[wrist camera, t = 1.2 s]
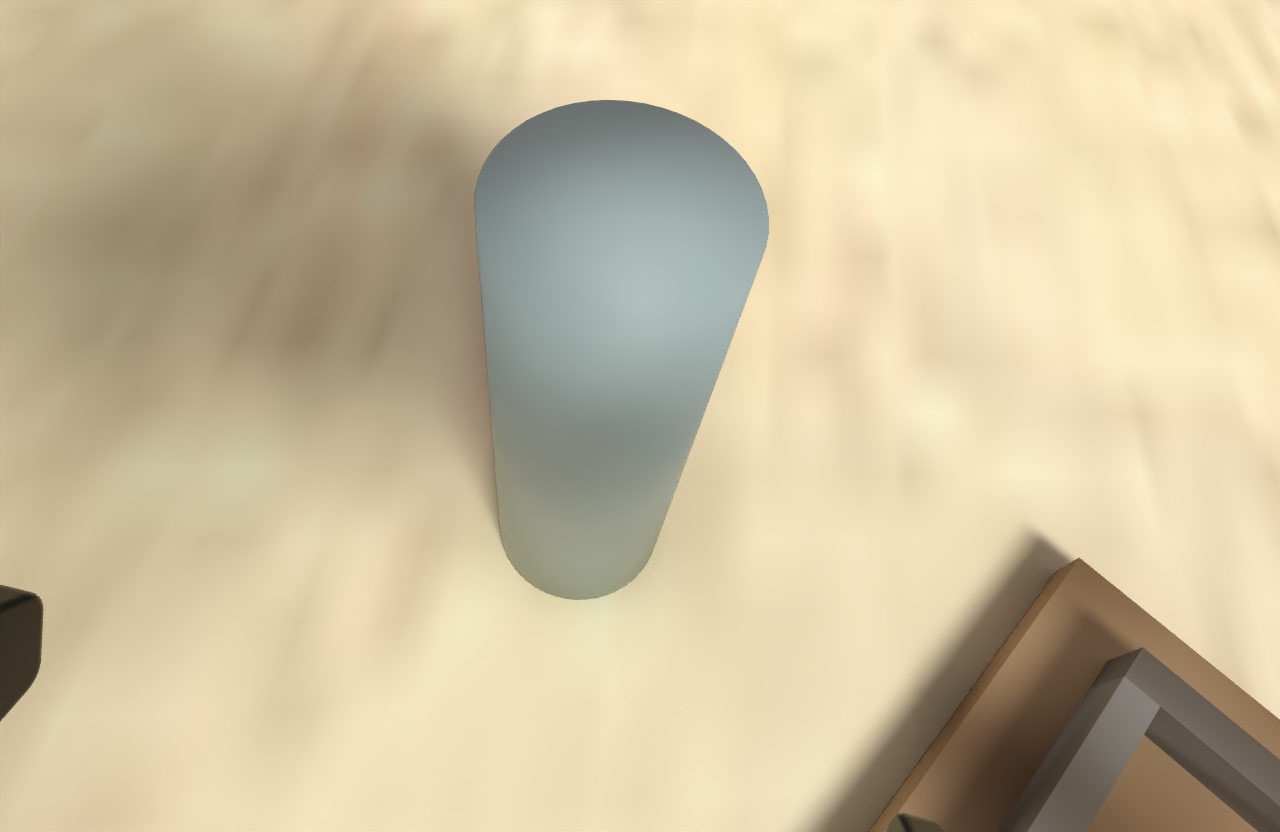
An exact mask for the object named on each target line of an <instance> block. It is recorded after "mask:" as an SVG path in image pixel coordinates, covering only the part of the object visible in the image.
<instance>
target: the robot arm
mask: <svg viewBox="0 0 1280 832" xmlns="http://www.w3.org/2000/svg"><path fill="white" fill-rule="evenodd" d="M42 628H43V603H42V601H41V599H40V597H39V596H37V595H36V594H35V593H32V592H28V591H24V590H20V589H16V588H12V587H8V586H4V585H0V721H1V720H2V719H3V718H4V717H5V716H6V714H7V713H8V712H9V711H10V710H11V709H12V708H13V706H14V705H15V704H16V703H17V702H18V701H19V700H20V698H21V697H22V696H23V695H24V694H25V693H26V692H27V690H28V689H29V688H30V686H31V685H32V683H33V682H34V680H35V678H36V676H37V674H38V671H39V668H40V663H41V649H42ZM886 832H947V831H946V830H945V829H944V828H943V827H942V826H941V825H940V824H939V823H938V822H936V821H934V820H932V819H928V818H924V817H920V816H916V815H912V814H908V813H904V812H900V813H897V814H895V815H894V816H893V817H892V819H891V820H890V822H889V824H888V827H887V829H886Z"/></svg>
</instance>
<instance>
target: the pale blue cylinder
mask: <svg viewBox="0 0 1280 832" xmlns="http://www.w3.org/2000/svg"><path fill="white" fill-rule="evenodd" d="M474 210H475V223H476V236H477V248H478V261H479V273H480V286H481V298H482V311H483V323H484V336H485V348H486V361H487V373H488V386H489V398H490V411H491V423H492V436H493V448H494V461H495V473H496V486H497V499H498V511H499V524H500V533H501V540H502V544H503V547H504V550H505V552H506V555H507V557H508V559H509V560H510V562H511V564H512V565H513V567H514V568H515V569H516V570H517V572H518V573H519V574H520V575H521V576H522V577H523V578H524V579H525V580H526V581H528V582H529V583H530V584H532V585H533V586H535V587H536V588H538V589H540V590H542V591H544V592H546V593H548V594H551V595H554V596H557V597H561V598H566V599H575V600H578V599H592V598H598V597H601V596H605V595H608V594H610V593H613V592H615V591H617V590H619V589H620V588H622V587H624V586H625V585H627V584H628V583H629V582H630V581H632V580H633V579H634V578H635V577H636V576H637V575H638V574H639V573H640V572H641V571H642V569H643V568H644V566H645V565H646V564H647V562H648V560H649V558H650V556H651V554H652V551H653V549H654V546H655V543H656V541H657V538H658V535H659V533H660V530H661V527H662V525H663V522H664V519H665V517H666V514H667V511H668V509H669V506H670V503H671V501H672V498H673V495H674V492H675V490H676V487H677V484H678V482H679V479H680V476H681V474H682V471H683V468H684V466H685V463H686V460H687V458H688V455H689V452H690V450H691V447H692V444H693V442H694V439H695V436H696V434H697V431H698V428H699V426H700V423H701V420H702V418H703V415H704V412H705V410H706V407H707V404H708V402H709V399H710V396H711V394H712V391H713V388H714V386H715V383H716V380H717V378H718V375H719V372H720V370H721V367H722V364H723V362H724V359H725V356H726V353H727V351H728V348H729V345H730V343H731V340H732V337H733V335H734V332H735V329H736V327H737V324H738V321H739V319H740V316H741V313H742V311H743V308H744V305H745V303H746V300H747V297H748V295H749V292H750V289H751V287H752V284H753V281H754V279H755V276H756V273H757V271H758V268H759V265H760V263H761V260H762V257H763V254H764V252H765V249H766V245H767V239H768V234H769V216H768V210H767V204H766V200H765V197H764V194H763V191H762V188H761V186H760V184H759V182H758V180H757V178H756V176H755V174H754V173H753V171H752V170H751V169H750V167H749V166H748V164H747V163H746V161H745V160H744V159H743V158H742V157H741V156H740V155H739V153H738V152H737V151H736V150H735V149H734V148H733V147H732V146H730V145H729V144H728V143H727V142H726V141H725V140H724V139H723V138H721V137H720V136H718V135H717V134H716V133H714V132H713V131H711V130H710V129H708V128H707V127H705V126H703V125H701V124H700V123H698V122H696V121H694V120H692V119H690V118H688V117H686V116H683V115H681V114H679V113H676V112H673V111H670V110H667V109H664V108H661V107H657V106H653V105H649V104H644V103H637V102H630V101H617V100H599V101H587V102H580V103H573V104H569V105H565V106H561V107H557V108H554V109H552V110H549V111H546V112H543V113H541V114H539V115H537V116H535V117H533V118H531V119H529V120H527V121H525V122H524V123H522V124H521V125H519V126H518V127H516V128H515V129H513V130H512V131H511V132H510V133H509V134H508V135H507V136H505V137H504V138H503V139H502V140H501V141H500V142H499V143H498V145H497V146H496V147H495V148H494V149H493V151H492V152H491V153H490V155H489V157H488V158H487V160H486V162H485V163H484V165H483V167H482V170H481V172H480V175H479V177H478V181H477V186H476V190H475V203H474Z"/></svg>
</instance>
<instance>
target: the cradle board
mask: <svg viewBox="0 0 1280 832" xmlns="http://www.w3.org/2000/svg"><path fill="white" fill-rule="evenodd" d="M900 812H904V813H908V814H912V815H916V816H920V817H924V818H928V819H932V820H934V821H936V822H938V823H939V824H940V825H941V826H942V827H943V828H944V829H945V830H946V831H947V832H1280V720H1279V719H1278V718H1277V717H1276V716H1274V715H1273V714H1272V713H1271V712H1269V711H1268V710H1267V709H1266V708H1264V707H1263V706H1262V705H1261V704H1260V703H1258V702H1257V701H1256V700H1255V699H1253V698H1252V697H1251V696H1250V695H1248V694H1247V693H1246V692H1245V691H1243V690H1242V689H1241V688H1240V687H1239V686H1237V685H1236V684H1235V683H1234V682H1232V681H1231V680H1230V679H1229V678H1227V677H1226V676H1225V675H1224V674H1222V673H1221V672H1220V671H1219V670H1217V669H1216V668H1215V667H1214V666H1213V665H1211V664H1210V663H1209V662H1208V661H1206V660H1205V659H1204V658H1203V657H1201V656H1200V655H1199V654H1198V653H1196V652H1195V651H1194V650H1193V649H1192V648H1190V647H1189V646H1188V645H1187V644H1185V643H1184V642H1183V641H1182V640H1180V639H1179V638H1178V637H1177V636H1175V635H1174V634H1173V633H1172V632H1170V631H1169V630H1168V629H1167V628H1166V627H1164V626H1163V625H1162V624H1161V623H1159V622H1158V621H1157V620H1156V619H1154V618H1153V617H1152V616H1151V615H1149V614H1148V613H1147V612H1146V611H1145V610H1143V609H1142V608H1141V607H1140V606H1138V605H1137V604H1136V603H1135V602H1133V601H1132V600H1131V599H1130V598H1128V597H1127V596H1126V595H1125V594H1123V593H1122V592H1121V591H1120V590H1119V589H1117V588H1116V587H1115V586H1114V585H1112V584H1111V583H1110V582H1109V581H1107V580H1106V579H1105V578H1104V577H1102V576H1101V575H1100V574H1099V573H1098V572H1096V571H1095V570H1094V569H1093V568H1091V567H1090V566H1089V565H1088V564H1086V563H1085V562H1084V561H1083V560H1081V559H1080V558H1078V559H1076V560H1075V561H1073V562H1071V563H1069V564H1068V565H1066V566H1064V567H1063V568H1061V569H1059V570H1058V571H1056V572H1055V574H1054V575H1053V577H1052V578H1051V579H1050V581H1049V582H1048V584H1047V585H1046V586H1045V588H1044V589H1043V590H1042V592H1041V593H1040V595H1039V596H1038V597H1037V599H1036V600H1035V602H1034V603H1033V604H1032V606H1031V607H1030V609H1029V610H1028V611H1027V613H1026V614H1025V615H1024V617H1023V618H1022V620H1021V621H1020V622H1019V624H1018V625H1017V627H1016V628H1015V629H1014V631H1013V632H1012V634H1011V635H1010V636H1009V638H1008V639H1007V640H1006V642H1005V643H1004V645H1003V646H1002V647H1001V649H1000V650H999V652H998V653H997V654H996V656H995V657H994V659H993V660H992V661H991V663H990V664H989V665H988V667H987V668H986V670H985V671H984V672H983V674H982V675H981V677H980V678H979V679H978V681H977V682H976V684H975V685H974V686H973V688H972V689H971V690H970V692H969V693H968V695H967V696H966V697H965V699H964V700H963V702H962V703H961V704H960V706H959V707H958V708H957V710H956V711H955V713H954V714H953V715H952V717H951V718H950V720H949V721H948V722H947V724H946V725H945V727H944V728H943V729H942V731H941V732H940V733H939V735H938V736H937V738H936V739H935V740H934V742H933V743H932V745H931V746H930V747H929V749H928V750H927V752H926V753H925V754H924V756H923V757H922V758H921V760H920V761H919V763H918V764H917V765H916V767H915V768H914V770H913V771H912V772H911V774H910V775H909V777H908V778H907V779H906V781H905V782H904V783H903V785H902V786H901V788H900V789H899V790H898V792H897V793H896V795H895V796H894V797H893V799H892V800H891V802H890V803H889V804H888V806H887V807H886V808H885V810H884V811H883V813H882V814H881V815H880V817H879V818H878V820H877V821H876V822H875V824H874V825H873V827H872V828H871V829H870V831H869V832H886V829H887V827H888V824H889V822H890V820H891V819H892V817H893V816H894V815H895V814H897V813H900Z"/></svg>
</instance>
